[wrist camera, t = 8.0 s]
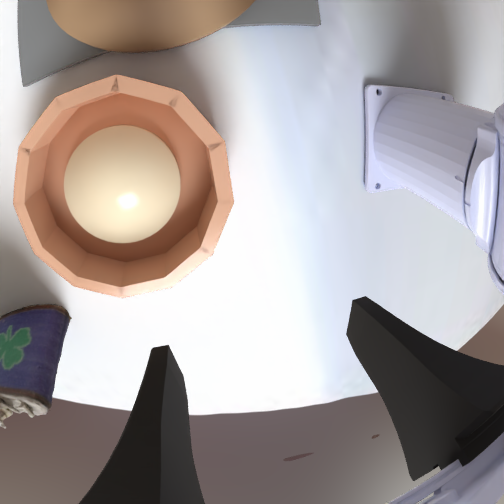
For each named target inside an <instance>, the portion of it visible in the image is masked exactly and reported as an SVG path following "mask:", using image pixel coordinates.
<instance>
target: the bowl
mask: <svg viewBox="0 0 504 504" xmlns="http://www.w3.org/2000/svg"><path fill="white" fill-rule="evenodd" d="M233 204H234V199H233V192H232V186H231V179H230V172H229V166H228V159H227V152H226V146H225V141H224V140H223V139H222V137H221V136H220V135H219V134H218V133H217V131H216V130H215V129H214V128H213V127H212V126H211V124H210V123H209V122H208V121H207V120H206V119H205V117H204V116H203V115H202V114H201V113H200V112H199V111H198V109H197V108H196V107H195V106H194V105H193V104H192V103H191V101H190V100H189V99H188V98H187V97H186V96H185V95H184V94H183V92H181V91H179V90H175V89H172V88H168V87H165V86H161V85H158V84H154V83H150V82H146V81H143V80H139V79H134V78H130V77H126V76H122V75H117V74H116V75H113V76H110V77H107V78H104V79H101V80H98V81H95V82H92V83H90V84H87V85H84V86H82V87H79V88H76V89H74V90H71V91H69V92H66V93H64V94H62V95H59V96H57V97H55V98H54V100H53V101H52V102H51V103H50V105H49V106H48V107H47V108H46V110H45V111H44V112H43V113H42V115H41V116H40V117H39V119H38V120H37V121H36V123H35V124H34V126H33V127H32V128H31V130H30V131H29V133H28V134H27V135H26V137H25V138H24V140H23V141H22V143H21V144H20V146H19V150H18V157H17V164H16V173H15V184H14V198H13V205H14V208H15V210H16V213H17V215H18V218H19V220H20V223H21V225H22V228H23V230H24V232H25V235H26V237H27V239H28V241H29V243H30V246H31V248H32V250H33V252H34V254H35V255H36V256H38V257H39V258H40V259H41V260H42V261H43V262H45V263H46V264H47V265H48V266H49V267H50V268H52V269H53V270H54V271H55V272H56V273H58V274H59V275H60V276H61V277H63V278H64V279H65V280H66V281H68V282H69V283H70V284H71V285H73V286H74V287H78V288H82V289H86V290H90V291H94V292H98V293H102V294H107V295H111V296H115V297H119V298H126V297H130V296H135V295H140V294H144V293H149V292H154V291H158V290H163V289H167V288H172V287H173V286H175V285H176V284H177V283H178V282H179V281H181V280H182V279H183V278H184V277H186V276H187V275H188V274H189V273H190V272H192V271H193V270H194V269H195V268H197V267H198V266H199V265H200V264H202V263H203V262H204V261H205V260H206V259H208V258H209V257H210V256H211V255H213V253H214V250H215V248H216V245H217V243H218V240H219V238H220V235H221V233H222V230H223V228H224V225H225V223H226V221H227V218H228V216H229V213H230V211H231V208H232V206H233Z"/></svg>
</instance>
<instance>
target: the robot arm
mask: <svg viewBox="0 0 504 504" xmlns="http://www.w3.org/2000/svg"><path fill="white" fill-rule="evenodd" d="M377 89H378V91H379V94H378V95H377V93H376V90H377ZM365 118H366V162H365V189H366V191H368V192H369V193H375V192H381V191H387V190H393V189H400V188H406V189H408V190H410V191H411V192H413V193H415V194H416V195H418V196H420V197H421V198H423V199H425V200H426V201H428V202H429V203H431V204H433V205H434V206H436V207H437V208H439V209H440V210H442V211H443V212H445V213H446V214H448V215H449V216H451V217H452V218H454V219H455V220H457V221H458V222H460V223H461V224H463V225H464V226H465V227H467V228H468V229H470V230H471V231H472V232H473V233H474V234H475V236H476V245H477V246H479V247H480V248H481V249H482V250H484V251H485V252H486V253H487V254H488V268H489V272H490V275H491V278H492V280H493V282H494V283H495V285H496V287H497V288H498V289H499V290H500V292H501V293H502V294H503V295H504V103H503V104H502V105H501V106H499V107H498V108H497V109H496V110H495V113H492V112H489V111H485V110H482V109H479V108H475V107H471V106H468V105H464V104H460V103H456V102H454V99H453V96H452V95H451V94H446V93H441V92H435V91H428V90H421V89H413V88H405V87H395V86H384V85H367V86H366V87H365ZM377 183H378V185H377V187H375V185H376V184H377ZM346 335H347V337H348V339H349V341H350V344H351V346H352V348H353V350H354V352H355V354H356V356H357V358H358V359H359V361H360V363H361V364H362V366H363V368H364V369H365V371H366V372H367V374H368V376H369V377H370V379H371V380H372V382H373V384H374V385H375V387H376V389H377V390H378V392H379V393H380V395H381V397H382V399H383V401H384V403H385V405H386V407H387V409H388V411H389V414H390V416H391V418H392V421H393V423H394V426H395V428H396V431H397V433H398V436H399V439H400V442H401V445H402V448H403V451H404V454H405V458H406V462H407V466H408V470H409V474H410V476H411V478H412V480H413V481H415V480H417V479H418V478H420V477H422V476H423V475H425V474H427V473H428V472H430V471H432V470H433V469H435V468H436V467H438V466H439V467H440V469H441V471H440V472H438V473H437V474H435V475H434V476H432V477H431V478H429V479H428V480H426V481H425V482H423V483H421V484H420V485H418V486H416V487H415V488H413V489H411V490H410V491H408V492H406V493H404V494H403V495H401V496H399V497H397V498H396V499H394V500H392V501H390V502H388V503H386V504H416V503H417V502H419V501H421V500H422V499H424V498H425V497H427V496H428V495H430V494H431V493H433V492H434V495H433V496H432V497H430V498H428V499H426V500H424V501H422V502H420V503H418V504H496V503H497V502H498V500H499V499H500V498H501V497H502V495H503V494H504V366H503V365H498V364H494V363H490V362H486V361H483V360H479V359H476V358H473V357H470V356H468V355H465V354H463V353H460V352H458V351H455V350H453V349H451V348H449V347H447V346H445V345H443V344H440V343H438V342H436V341H435V340H433V339H431V338H429V337H427V336H426V335H424V334H422V333H421V332H419V331H417V330H416V329H414V328H412V327H411V326H409V325H408V324H406V323H405V322H403V321H402V320H400V319H399V318H397V317H396V316H394V315H393V314H391V313H390V312H388V311H387V310H385V309H384V308H382V307H381V306H379V305H378V304H377V303H375V302H374V301H372V300H371V299H369V298H367V297H366V296H365V297H361V298H358V299H355V300H353V301H352V307H351V312H350V318H349V323H348V328H347V333H346ZM79 504H205V503H204V499H203V496H202V493H201V489H200V485H199V481H198V478H197V474H196V469H195V465H194V461H193V455H192V449H191V437H190V426H189V413H188V399H187V394H186V388H185V382H184V377H183V374H182V372H181V370H180V368H179V366H178V364H177V362H176V360H175V358H174V356H173V353H172V351H171V349H170V347H169V345H166V346H160V347H154V348H152V350H151V353H150V357H149V360H148V364H147V367H146V371H145V374H144V377H143V381H142V384H141V387H140V389H139V392H138V395H137V398H136V401H135V404H134V406H133V409H132V412H131V414H130V417H129V419H128V422H127V424H126V426H125V429H124V431H123V433H122V436H121V437H120V440H119V442H118V444H117V446H116V447H115V449H114V451H113V453H112V455H111V457H110V459H109V461H108V462H107V464H106V466H105V467H104V469H103V470H102V472H101V474H100V475H99V477H98V478H97V480H96V481H95V483H94V484H93V486H92V487H91V489H90V490H89V491H88V492H87V494H86V495H85V496H84V498H83V499H82V500H81V501H80V503H79Z"/></svg>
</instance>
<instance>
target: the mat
mask: <svg viewBox="0 0 504 504" xmlns="http://www.w3.org/2000/svg"><path fill="white" fill-rule="evenodd" d="M259 25H304V26H319V25H321V20H320V13H319V7H318V0H255V1H254V2H253V4H252V5H251V6H250V7H249V8H248V9H247V10H246V11H245V12H244V13H242V14H241V15H240V16H239V17H238V18H237V19H235V20H234V21H232V22H231V23H229V24H228V25H227V26H225V27H223V28H229V27H241V26H259ZM18 44H19V57H20V67H21V75H22V83H23V87H25V86H29V85H31V84H33V83H35V82H37V81H39V80H41V79H43V78H45V77H47V76H49V75H52V74H54V73H56V72H58V71H60V70H63V69H65V68H67V67H70V66H72V65H75V64H77V63H80V62H82V61H85V60H88V59H90V58H93V57H96V56H99V55H102V54H105V53H108V52H111V51H107V50H103V49H99V48H95V47H93V46H90V45H88V44H85V43H83V42H81V41H79V40H77V39H75V38H73V37H72V36H70V35H68V34H67V33H66V32H65V31H64V30H62V29H61V28H60V27H59V26H58V24H57V23H56V22H55V21H54V19H53V17H52V15H51V13H50V11H49V9H48V5H47V2H46V0H18Z"/></svg>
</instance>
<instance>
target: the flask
mask: <svg viewBox="0 0 504 504" xmlns="http://www.w3.org/2000/svg"><path fill="white" fill-rule="evenodd" d="M70 319H71V317H70V316H69V314H68V312H67V310H65V309H64V308H63V307H62V306H58V305H52V304H44V305H36V306H33V305H32V306H28V307H23V308H22V309H19V310H18V309H17V310H16V311H13V312H11V313H8V314H6V315H4V316H2V317H1V318H0V426H1V427H3V428H6V427H5V426H4V424H3V420H4V419H5V418H7V417H9V416H11V415H12V414H13V412H12V411H14V412H16V413H21V412H26V413H28V415H29V416H30V417H34V414H35V415H45V414H47V412H48V411H50V408H51V402H52V394H53V391H54V385H55V378H56V374H57V368H58V363H59V361H60V357H61V352H62V347H63V341H64V338H65V335H66V332H67V329H68V326H69V322H70Z"/></svg>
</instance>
